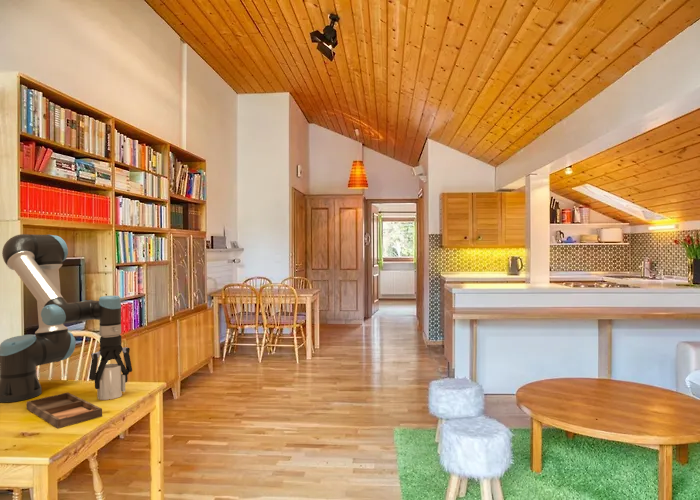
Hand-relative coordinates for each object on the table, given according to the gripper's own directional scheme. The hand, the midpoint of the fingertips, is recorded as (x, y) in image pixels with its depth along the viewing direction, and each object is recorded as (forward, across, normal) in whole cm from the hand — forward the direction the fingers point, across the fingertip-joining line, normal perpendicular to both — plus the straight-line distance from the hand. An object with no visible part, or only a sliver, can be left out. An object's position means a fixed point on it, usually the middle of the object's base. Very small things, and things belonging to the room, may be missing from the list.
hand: (111, 393), depth 179 cm
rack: (+1, -18, -4) cm, 19 cm away
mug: (+2, -1, 0) cm, 2 cm away
